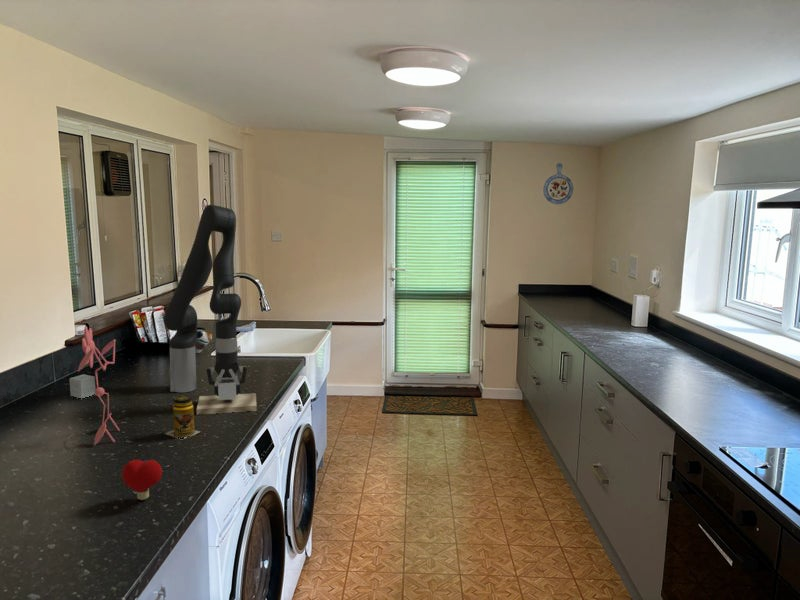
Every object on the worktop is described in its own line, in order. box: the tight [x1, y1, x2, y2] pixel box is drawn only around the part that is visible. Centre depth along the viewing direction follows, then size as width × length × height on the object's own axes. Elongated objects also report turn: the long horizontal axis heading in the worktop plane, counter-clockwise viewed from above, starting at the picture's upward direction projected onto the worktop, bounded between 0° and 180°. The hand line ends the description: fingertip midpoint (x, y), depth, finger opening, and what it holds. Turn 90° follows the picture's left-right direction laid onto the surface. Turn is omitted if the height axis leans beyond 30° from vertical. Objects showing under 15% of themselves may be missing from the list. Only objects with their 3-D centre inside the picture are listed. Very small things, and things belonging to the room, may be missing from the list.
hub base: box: [196, 392, 258, 416], centre depth 206 cm, size 20×14×8 cm
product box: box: [69, 374, 96, 400], centre depth 213 cm, size 6×6×7 cm
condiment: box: [165, 394, 201, 440], centre depth 181 cm, size 7×8×12 cm
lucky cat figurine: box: [195, 329, 213, 355], centre depth 280 cm, size 15×12×14 cm
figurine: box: [64, 325, 126, 453], centre depth 173 cm, size 15×26×35 cm, turn 17°
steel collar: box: [218, 377, 236, 400], centre depth 206 cm, size 6×6×6 cm
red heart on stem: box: [121, 459, 163, 501], centre depth 140 cm, size 9×7×10 cm
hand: (227, 394), depth 206 cm, fingers closed on steel collar, 6 cm apart
